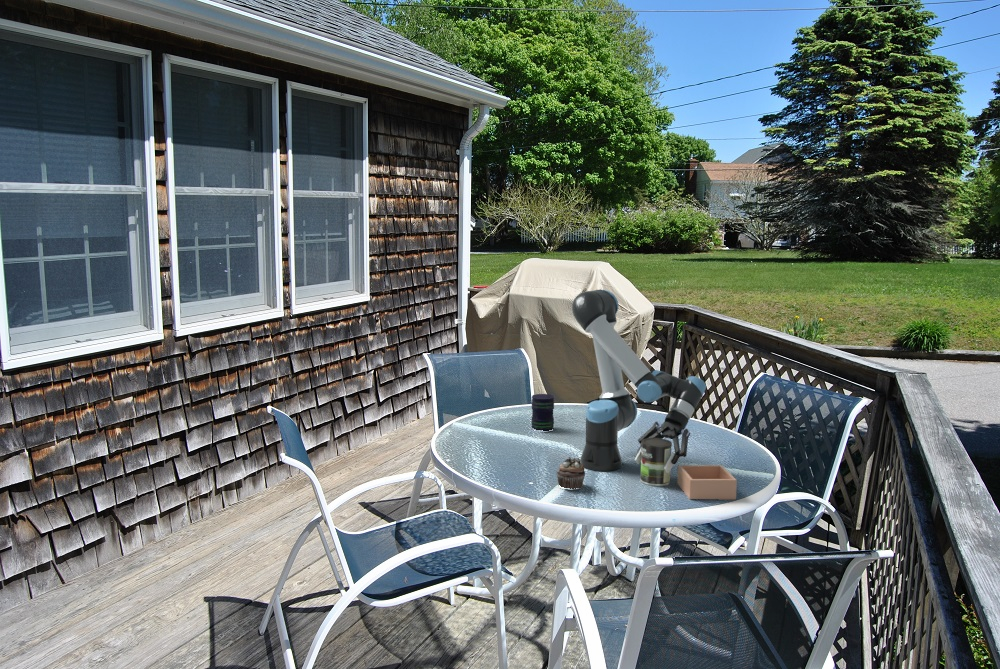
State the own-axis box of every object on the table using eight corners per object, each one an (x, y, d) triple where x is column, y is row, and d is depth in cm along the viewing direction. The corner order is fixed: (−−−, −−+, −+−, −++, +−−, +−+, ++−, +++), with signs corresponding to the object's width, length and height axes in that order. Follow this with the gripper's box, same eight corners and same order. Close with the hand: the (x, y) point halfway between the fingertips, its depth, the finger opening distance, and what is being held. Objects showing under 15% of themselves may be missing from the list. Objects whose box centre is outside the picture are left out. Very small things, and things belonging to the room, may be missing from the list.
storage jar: (527, 430, 309) (527, 397, 307) (537, 425, 317) (538, 392, 315) (547, 433, 304) (547, 399, 302) (557, 428, 312) (558, 395, 310)
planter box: (689, 499, 228) (690, 480, 227) (677, 483, 242) (677, 465, 242) (735, 499, 228) (736, 480, 227) (720, 483, 243) (721, 465, 242)
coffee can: (650, 487, 238) (651, 447, 236) (634, 478, 248) (635, 439, 246) (676, 484, 242) (678, 444, 240) (659, 474, 251) (660, 436, 250)
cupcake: (582, 481, 244) (583, 453, 243) (586, 491, 235) (587, 462, 233) (554, 481, 244) (555, 453, 243) (557, 491, 234) (558, 462, 233)
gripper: (712, 428, 243) (685, 481, 235) (655, 415, 261) (628, 463, 253) (704, 415, 239) (676, 469, 231) (647, 403, 257) (619, 452, 249)
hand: (651, 466), depth 242 cm, fingers open, 12 cm apart
